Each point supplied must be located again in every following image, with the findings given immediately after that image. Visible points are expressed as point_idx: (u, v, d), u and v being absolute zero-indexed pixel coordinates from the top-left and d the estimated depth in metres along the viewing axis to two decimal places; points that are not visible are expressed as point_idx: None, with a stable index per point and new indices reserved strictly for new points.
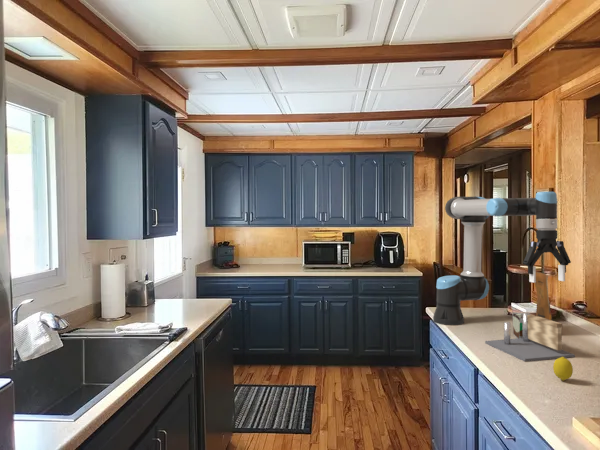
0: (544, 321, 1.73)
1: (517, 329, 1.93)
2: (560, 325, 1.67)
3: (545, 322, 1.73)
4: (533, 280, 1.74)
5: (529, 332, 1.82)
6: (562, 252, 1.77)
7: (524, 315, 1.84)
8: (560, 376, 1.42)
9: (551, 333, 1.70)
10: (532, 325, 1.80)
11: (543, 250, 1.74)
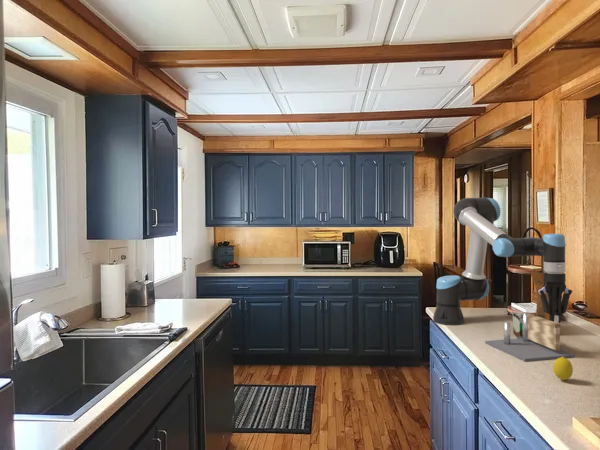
0: (543, 321, 1.73)
1: (517, 329, 1.93)
2: (558, 325, 1.67)
3: (544, 322, 1.73)
4: None
5: (529, 332, 1.82)
6: (564, 300, 1.72)
7: (524, 315, 1.84)
8: (560, 376, 1.42)
9: (549, 333, 1.70)
10: (531, 325, 1.80)
11: (553, 295, 1.71)
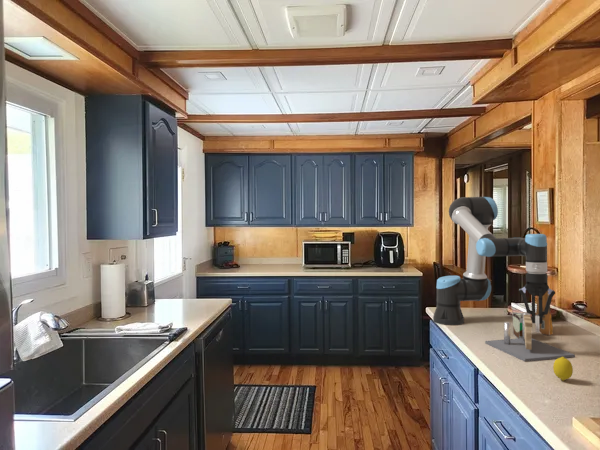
0: (524, 320, 1.75)
1: (517, 329, 1.93)
2: (530, 325, 1.68)
3: (524, 321, 1.74)
4: (535, 329, 1.72)
5: (524, 332, 1.83)
6: (547, 301, 1.70)
7: None
8: (560, 376, 1.42)
9: None
10: (524, 325, 1.81)
11: (533, 295, 1.71)
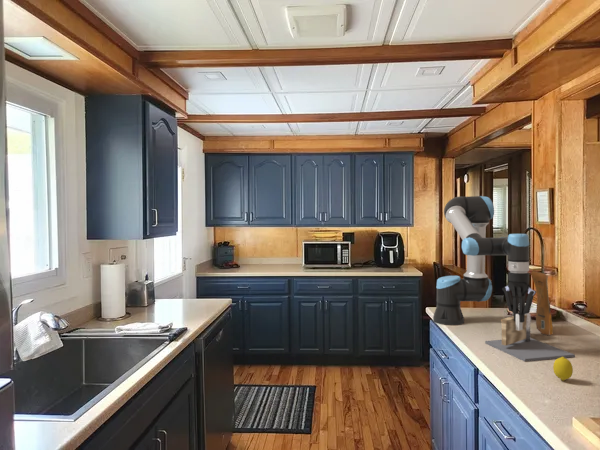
0: None
1: None
2: (504, 321, 1.74)
3: None
4: None
5: None
6: None
7: None
8: (560, 376, 1.42)
9: None
10: None
11: (513, 294, 1.75)
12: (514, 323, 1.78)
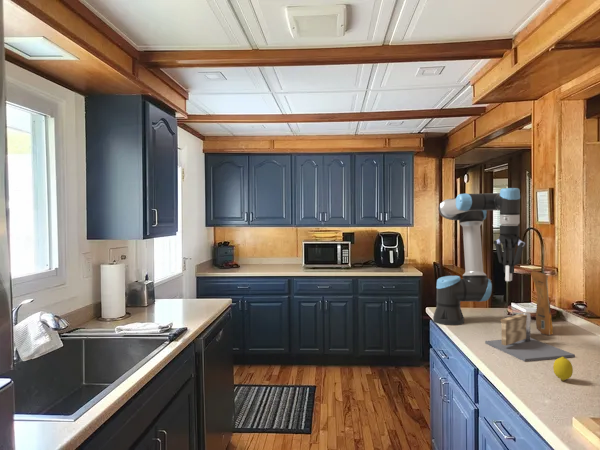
0: None
1: None
2: (504, 321, 1.74)
3: None
4: None
5: None
6: None
7: None
8: (560, 376, 1.42)
9: None
10: None
11: (504, 246, 1.81)
12: (514, 323, 1.78)
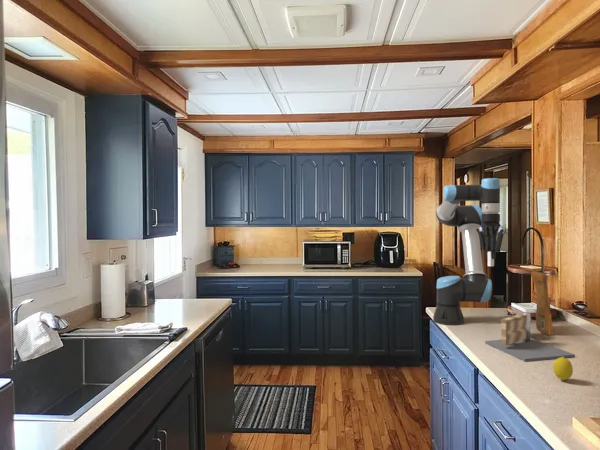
0: None
1: None
2: (504, 321, 1.74)
3: None
4: None
5: None
6: None
7: None
8: (560, 376, 1.42)
9: None
10: None
11: (485, 233, 1.92)
12: (514, 323, 1.78)
